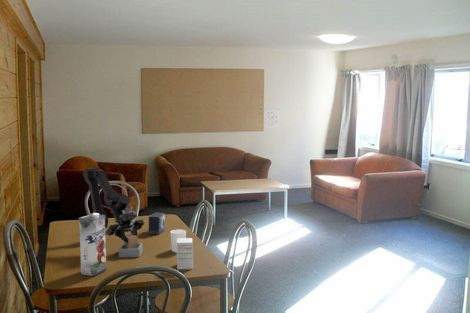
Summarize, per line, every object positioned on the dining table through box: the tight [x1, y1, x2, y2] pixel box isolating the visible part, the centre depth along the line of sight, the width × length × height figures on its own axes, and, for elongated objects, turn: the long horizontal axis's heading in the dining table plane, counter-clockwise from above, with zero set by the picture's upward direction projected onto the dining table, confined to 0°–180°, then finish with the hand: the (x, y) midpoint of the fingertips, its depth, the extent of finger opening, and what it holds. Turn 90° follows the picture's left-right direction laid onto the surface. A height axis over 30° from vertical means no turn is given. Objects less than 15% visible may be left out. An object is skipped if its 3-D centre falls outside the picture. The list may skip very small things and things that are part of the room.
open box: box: [118, 242, 144, 258], centre depth 249 cm, size 10×10×4 cm
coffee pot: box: [102, 204, 137, 231], centre depth 293 cm, size 21×12×15 cm, turn 105°
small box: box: [148, 211, 166, 236], centre depth 287 cm, size 11×6×10 cm, turn 168°
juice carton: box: [78, 212, 107, 277], centre depth 221 cm, size 9×10×27 cm
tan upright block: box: [123, 233, 139, 249], centre depth 249 cm, size 5×5×9 cm
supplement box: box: [176, 237, 194, 270], centre depth 230 cm, size 7×7×13 cm
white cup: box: [169, 228, 187, 253], centre depth 254 cm, size 8×8×10 cm
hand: (132, 241), depth 247 cm, fingers closed on tan upright block, 5 cm apart
